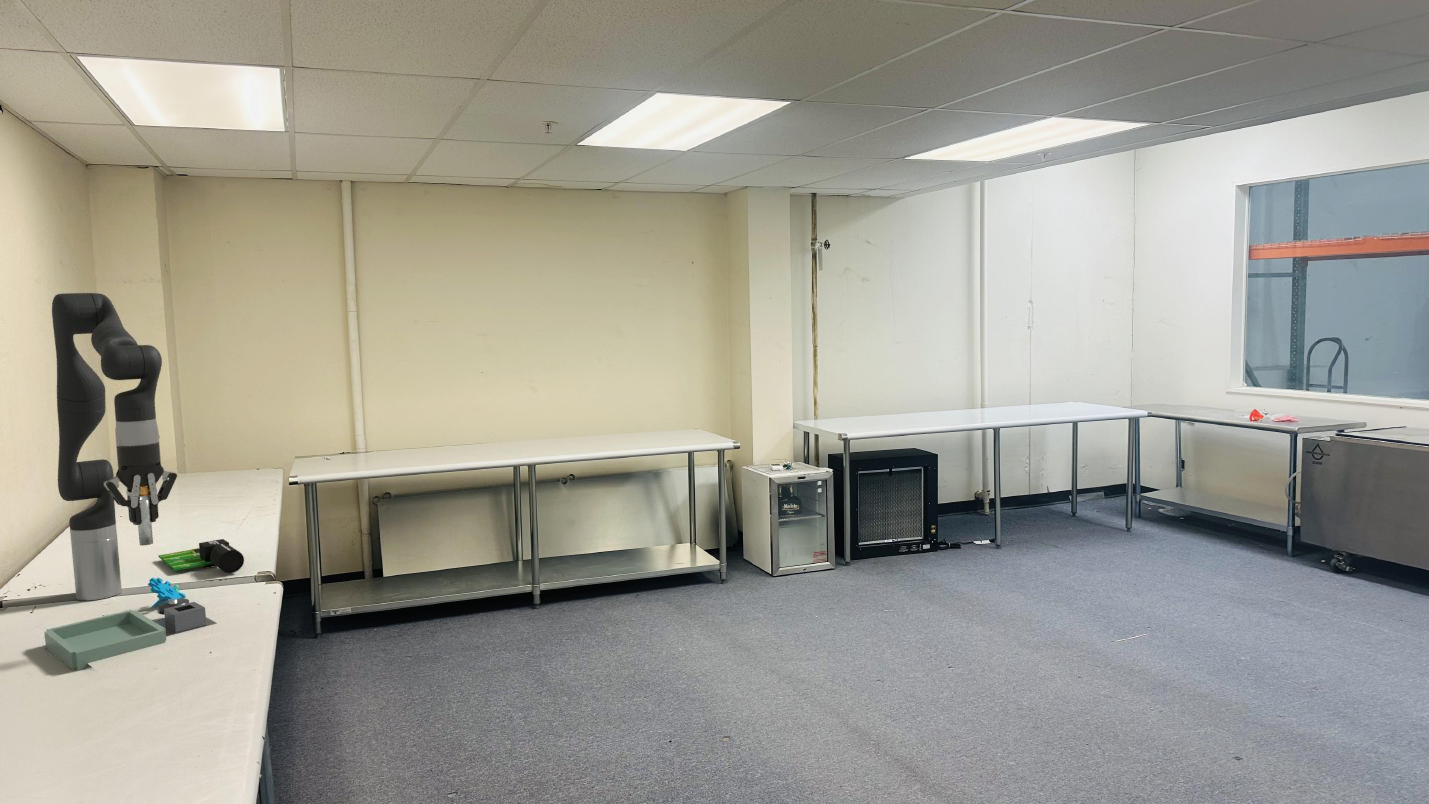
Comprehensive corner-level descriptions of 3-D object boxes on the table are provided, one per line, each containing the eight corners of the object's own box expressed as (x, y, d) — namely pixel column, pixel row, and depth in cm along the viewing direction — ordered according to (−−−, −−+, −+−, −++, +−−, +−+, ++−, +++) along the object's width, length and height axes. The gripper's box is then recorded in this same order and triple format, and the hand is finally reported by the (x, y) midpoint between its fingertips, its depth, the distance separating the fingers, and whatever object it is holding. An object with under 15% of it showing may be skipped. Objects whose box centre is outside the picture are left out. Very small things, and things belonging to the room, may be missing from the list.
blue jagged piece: (180, 607, 202) (145, 578, 201) (160, 627, 201) (125, 598, 200) (198, 598, 213) (165, 571, 212) (179, 617, 212) (146, 590, 211)
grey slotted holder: (144, 627, 194) (142, 602, 194) (194, 614, 202) (192, 591, 201) (166, 640, 186) (164, 615, 185) (217, 627, 193) (215, 603, 193)
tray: (44, 646, 183) (42, 630, 183) (134, 624, 196) (133, 609, 196) (74, 671, 170) (72, 654, 170) (168, 646, 183) (167, 629, 182)
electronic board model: (156, 537, 246) (217, 527, 256) (158, 561, 246) (218, 550, 257) (183, 558, 224) (248, 546, 234) (185, 584, 225) (250, 572, 235)
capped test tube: (137, 544, 186) (132, 485, 185) (150, 541, 188) (146, 483, 187) (141, 546, 185) (137, 487, 183) (155, 543, 186) (150, 485, 185)
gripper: (167, 435, 192) (173, 514, 193) (92, 444, 181) (99, 527, 183) (181, 439, 187) (187, 519, 189) (105, 447, 176) (112, 532, 178)
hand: (144, 522), depth 186 cm, fingers closed on capped test tube, 2 cm apart
